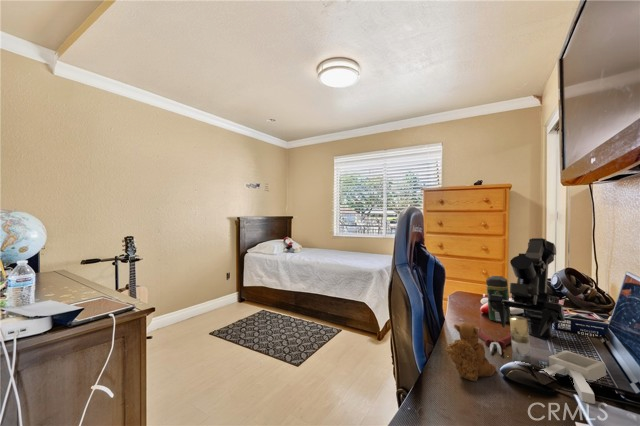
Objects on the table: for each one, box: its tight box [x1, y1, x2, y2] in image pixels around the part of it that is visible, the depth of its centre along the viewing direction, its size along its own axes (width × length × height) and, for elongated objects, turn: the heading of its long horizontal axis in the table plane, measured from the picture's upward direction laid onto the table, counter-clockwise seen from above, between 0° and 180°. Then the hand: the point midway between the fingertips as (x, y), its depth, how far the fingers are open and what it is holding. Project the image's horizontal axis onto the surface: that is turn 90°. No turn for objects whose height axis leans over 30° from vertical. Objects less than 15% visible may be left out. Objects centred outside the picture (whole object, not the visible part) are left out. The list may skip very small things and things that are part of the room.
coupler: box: [509, 315, 532, 365], centre depth 81 cm, size 4×4×13 cm
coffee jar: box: [485, 275, 512, 323], centre depth 118 cm, size 10×8×19 cm
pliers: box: [478, 327, 512, 356], centre depth 93 cm, size 12×20×3 cm, turn 149°
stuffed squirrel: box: [445, 322, 497, 382], centre depth 76 cm, size 10×14×13 cm
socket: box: [541, 349, 607, 405], centre depth 70 cm, size 20×13×4 cm, turn 113°
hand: (520, 330), depth 82 cm, fingers open, 9 cm apart
